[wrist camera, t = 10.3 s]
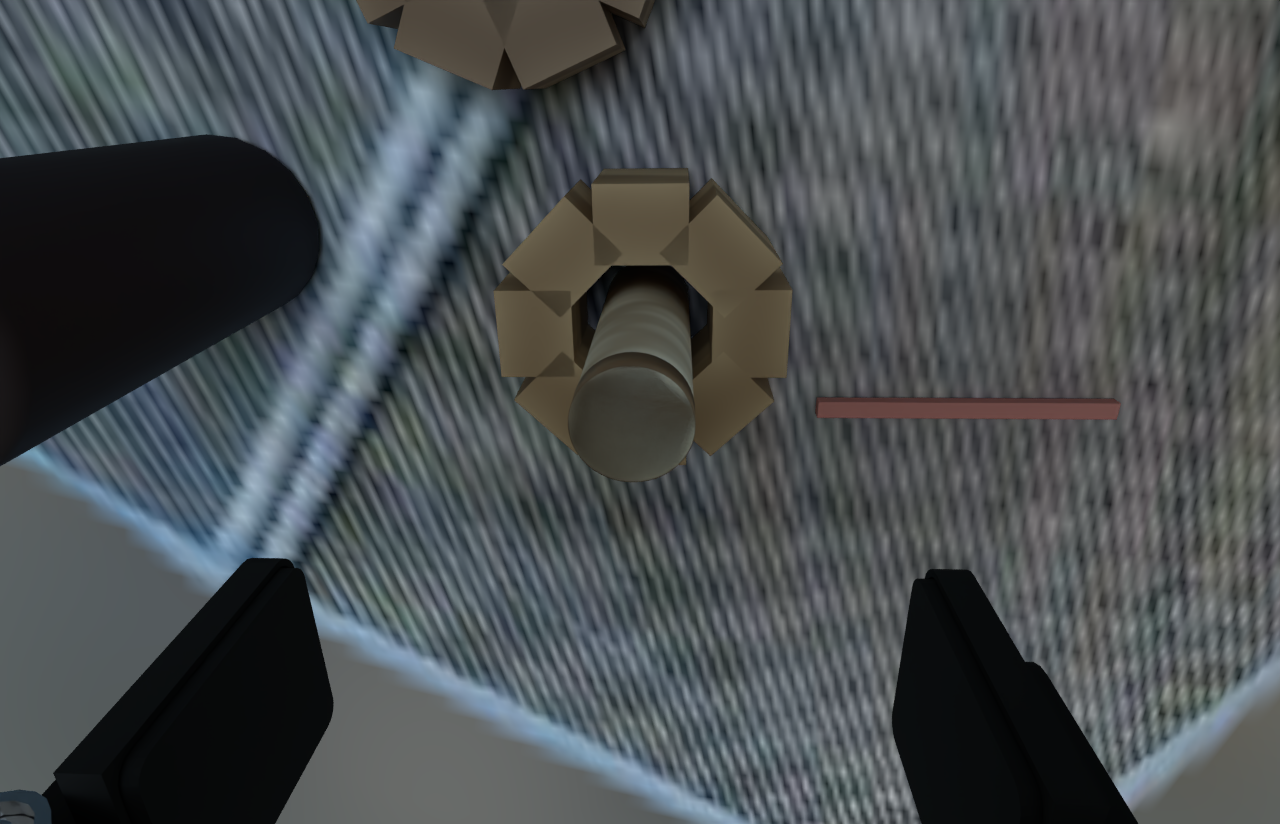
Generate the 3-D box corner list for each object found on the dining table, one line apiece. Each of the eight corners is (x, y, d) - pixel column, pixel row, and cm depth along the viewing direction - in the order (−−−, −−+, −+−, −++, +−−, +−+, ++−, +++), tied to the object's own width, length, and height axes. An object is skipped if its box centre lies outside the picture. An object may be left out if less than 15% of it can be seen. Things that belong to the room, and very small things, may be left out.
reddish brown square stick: (1114, 398, 31) (1120, 403, 30) (1110, 414, 31) (1116, 419, 31) (816, 397, 31) (818, 402, 31) (815, 412, 32) (817, 417, 31)
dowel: (689, 258, 29) (697, 365, 18) (688, 338, 31) (694, 482, 20) (606, 259, 30) (563, 364, 19) (609, 338, 31) (570, 481, 20)
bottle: (213, 332, 31) (-431, 682, 13) (115, 172, 29) (-844, 330, 11) (355, 276, 30) (-140, 578, 12) (264, 105, 28) (-531, 153, 10)
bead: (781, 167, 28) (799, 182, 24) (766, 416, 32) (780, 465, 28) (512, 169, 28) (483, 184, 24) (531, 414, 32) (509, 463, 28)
